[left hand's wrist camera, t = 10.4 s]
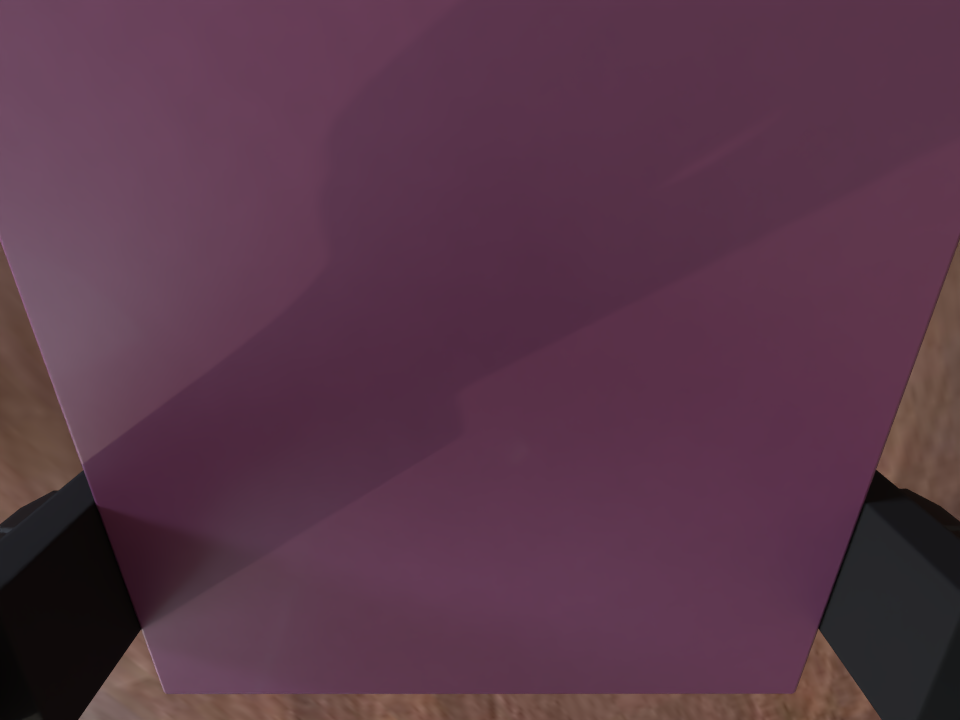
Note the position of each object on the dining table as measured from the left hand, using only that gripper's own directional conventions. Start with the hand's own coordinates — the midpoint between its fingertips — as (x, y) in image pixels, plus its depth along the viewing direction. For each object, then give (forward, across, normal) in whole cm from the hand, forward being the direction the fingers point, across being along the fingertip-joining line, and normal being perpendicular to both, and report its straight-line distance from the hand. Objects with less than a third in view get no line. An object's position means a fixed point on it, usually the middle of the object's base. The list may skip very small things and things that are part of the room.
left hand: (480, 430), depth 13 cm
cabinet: (+6, 0, -7) cm, 9 cm away
